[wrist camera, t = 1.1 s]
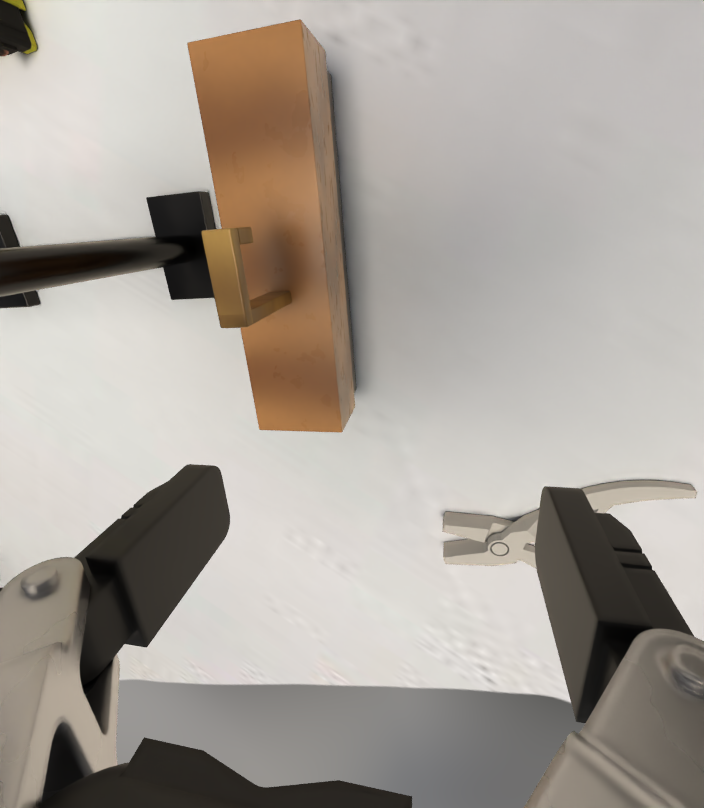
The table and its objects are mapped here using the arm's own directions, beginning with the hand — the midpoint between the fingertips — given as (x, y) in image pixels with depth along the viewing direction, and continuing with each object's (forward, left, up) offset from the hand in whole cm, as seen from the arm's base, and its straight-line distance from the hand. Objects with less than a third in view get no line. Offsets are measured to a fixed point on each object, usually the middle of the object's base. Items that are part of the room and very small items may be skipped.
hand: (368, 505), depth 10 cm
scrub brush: (-3, -7, -17) cm, 19 cm away
